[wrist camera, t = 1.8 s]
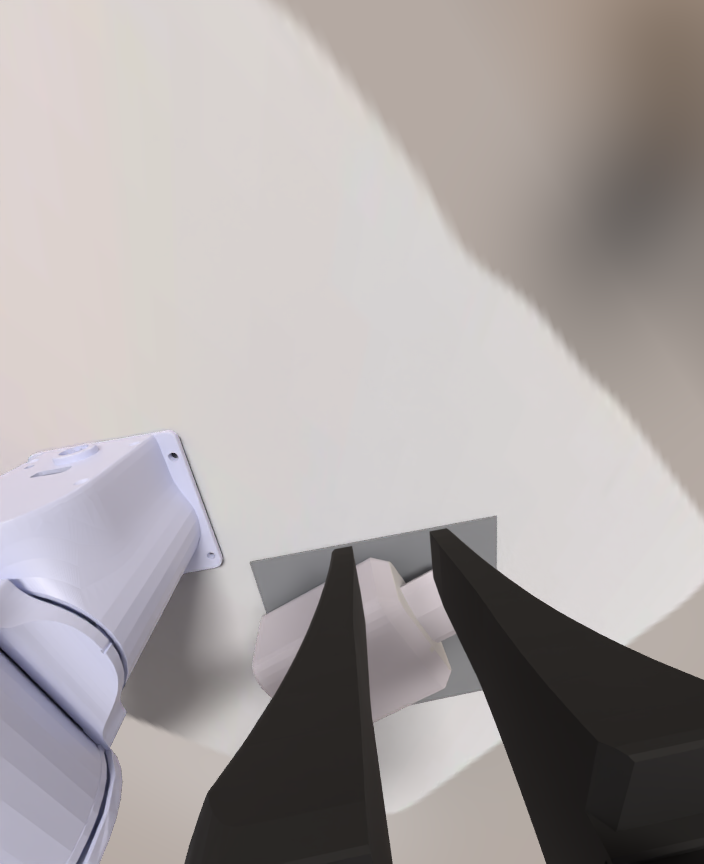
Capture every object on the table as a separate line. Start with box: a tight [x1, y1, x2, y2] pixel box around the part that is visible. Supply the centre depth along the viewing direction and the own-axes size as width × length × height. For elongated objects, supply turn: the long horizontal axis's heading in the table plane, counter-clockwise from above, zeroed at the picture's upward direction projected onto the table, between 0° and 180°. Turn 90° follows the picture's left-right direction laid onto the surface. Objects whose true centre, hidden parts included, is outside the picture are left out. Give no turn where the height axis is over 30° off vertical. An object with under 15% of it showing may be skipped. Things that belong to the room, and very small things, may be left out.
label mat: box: [250, 516, 497, 705], centre depth 25 cm, size 18×17×1 cm
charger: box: [252, 558, 456, 723], centre depth 22 cm, size 5×9×15 cm
